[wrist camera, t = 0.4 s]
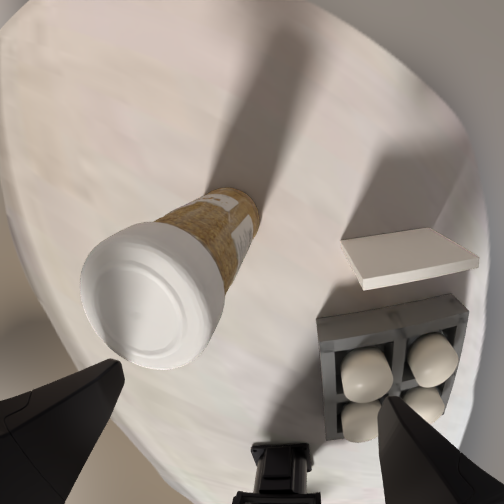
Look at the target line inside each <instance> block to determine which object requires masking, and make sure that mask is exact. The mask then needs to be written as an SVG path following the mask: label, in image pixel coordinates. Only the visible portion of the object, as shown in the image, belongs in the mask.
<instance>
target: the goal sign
mask: <svg viewBox="0 0 504 504" xmlns="http://www.w3.org/2000/svg"><path fill="white" fill-rule="evenodd" d="M340 243H341V249H342V251H343V253H344V255H345V257H346V259H347V260H348V262H349V264H350V266H351V268H352V270H353V271H354V273H355V275H356V277H357V279H358V281H359V283H360V285H361V287H362V289H363V291H364V290H370V289H376V288H381V287H387V286H392V285H398V284H403V283H408V282H414V281H419V280H424V279H429V278H434V277H438V276H443V275H448V274H452V273H457V272H461V271H466V270H470V269H475V268H478V267H479V257H478V256H477V255H475V254H473V253H472V252H470V251H469V250H467V249H465V248H464V247H462V246H460V245H459V244H457V243H455V242H454V241H452V240H450V239H448V238H447V237H445V236H443V235H441V234H440V233H438V232H436V231H434V230H433V229H431V228H429V227H427V228H421V229H414V230H408V231H401V232H394V233H388V234H381V235H374V236H368V237H361V238H355V239H348V240H341V241H340Z"/></svg>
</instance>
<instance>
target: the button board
mask: <svg viewBox="0 0 504 504" xmlns="http://www.w3.org/2000/svg"><path fill="white" fill-rule="evenodd" d="M468 315H469V310H468V309H467V308H466V307H465V306H464V305H463V304H462V303H461V302H460V301H459V300H458V299H457V298H456V297H455V296H454V295H453V294H452V293H451V294H447V295H443V296H438V297H434V298H429V299H425V300H420V301H415V302H411V303H406V304H401V305H396V306H391V307H385V308H380V309H374V310H369V311H363V312H357V313H351V314H345V315H339V316H332V317H325V318H319V319H316V323H317V333H318V342H319V353H320V364H321V376H322V388H323V403H324V418H325V432H326V441H328V440H335V439H342V438H344V436H343V427H342V420H341V410H342V408H343V407H344V406H345V405H346V404H347V403H348V402H349V401H350V400H349V399H348V398H347V397H346V396H345V394H344V390H343V384H342V378H341V373H340V364H341V362H342V360H343V358H344V357H345V356H346V355H347V354H348V353H349V352H351V351H352V350H354V349H356V348H360V347H366V346H374V347H377V348H379V349H380V350H382V351H383V353H384V355H385V357H386V360H387V362H388V365H389V367H390V370H391V372H392V375H393V384H392V386H391V388H390V389H389V391H388V392H387V393H386V394H385V395H383V396H382V397H380V398H379V399H378V400H379V401H380V403H381V406H382V404H383V401H384V399H385V398H386V397H387V396H399V397H400V398H402V396H403V395H404V394H405V393H406V392H407V391H408V390H409V389H411V388H413V387H417V386H420V385H419V384H418V383H417V381H416V379H415V377H414V375H413V372H412V370H411V368H410V366H409V364H408V362H407V353H408V350H409V348H410V346H411V345H412V344H413V342H414V341H415V340H416V339H418V338H419V337H420V336H422V335H424V334H427V333H431V332H440V333H442V334H443V335H444V336H445V337H446V339H447V340H448V342H449V343H450V344H451V346H452V347H453V349H454V350H455V352H456V353H457V355H458V364H457V367H456V369H455V371H454V372H453V374H452V375H451V376H450V377H449V378H448V379H447V380H445V381H444V382H443V383H441V384H439V385H437V386H435V387H436V389H437V391H438V393H439V395H440V397H441V399H442V401H443V403H444V405H445V409H446V406H447V403H448V400H449V397H450V393H451V390H452V387H453V383H454V380H455V376H456V372H457V369H458V365H459V361H460V356H461V352H462V347H463V343H464V338H465V333H466V327H467V322H468ZM445 409H444V412H445ZM444 412H443V414H442V415H444Z"/></svg>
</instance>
